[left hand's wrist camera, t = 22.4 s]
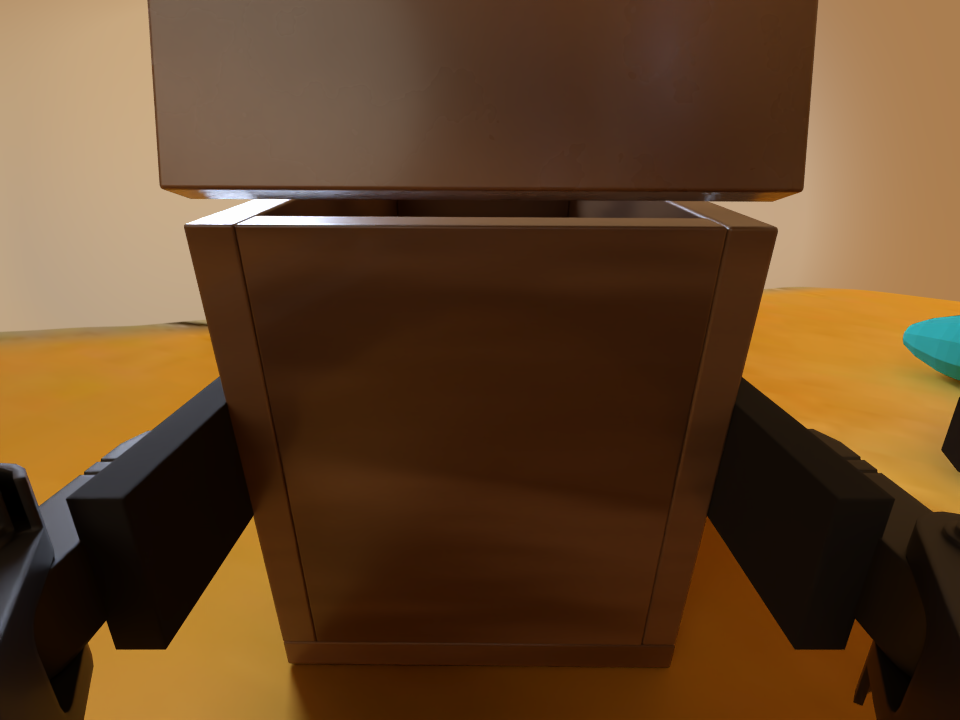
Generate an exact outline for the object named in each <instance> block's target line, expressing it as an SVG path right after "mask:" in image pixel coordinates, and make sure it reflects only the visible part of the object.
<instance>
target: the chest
mask: <svg viewBox="0 0 960 720" xmlns="http://www.w3.org/2000/svg"><path fill="white" fill-rule="evenodd" d="M184 229H185V233H186V237H187V241H188V245H189V250H190V254H191V258H192V262H193V266H194V270H195V275H196V279H197V283H198V287H199V291H200V295H201V300H202V304H203V308H204V312H205V316H206V320H207V325H208V329H209V333H210V337H211V341H212V345H213V350H214V354H215V358H216V362H217V366H218V370H219V375H220V379H221V383H222V387H223V391H224V395H225V400H226V402H227V405H228V410H229V414H230V418H231V422H232V426H233V430H234V434H235V438H236V443H237V447H238V451H239V455H240V459H241V463H242V467H243V471H244V476H245V480H246V484H247V488H248V492H249V496H250V500H251V504H252V509H253V513H254V515H253V516H254V520H255V525H256V529H257V533H258V537H259V541H260V545H261V550H262V554H263V558H264V562H265V566H266V570H267V575H268V579H269V583H270V587H271V591H272V595H273V600H274V604H275V608H276V612H277V616H278V620H279V624H280V629H281V633H282V637H283V640H284V645H285V650H286V654H287V658H288V662H289V663H310V664H403V665H496V666H589V667H670V664H671V660H672V656H673V652H674V648H675V645H674V644H675V642H676V638H677V634H678V630H679V626H680V622H681V618H682V614H683V610H684V606H685V602H686V598H687V594H688V590H689V586H690V582H691V578H692V574H693V570H694V566H695V562H696V558H697V554H698V550H699V546H700V542H701V538H702V534H703V530H704V526H705V522H706V518H707V514H708V510H709V506H710V502H711V498H712V494H713V490H714V486H715V482H716V478H717V474H718V470H719V466H720V462H721V458H722V454H723V450H724V446H725V442H726V438H727V434H728V430H729V426H730V422H731V418H732V413H733V409H734V405H735V401H736V397H737V393H738V389H739V385H740V381H741V377H742V373H743V369H744V365H745V361H746V357H747V353H748V349H749V345H750V341H751V337H752V333H753V329H754V325H755V321H756V317H757V313H758V309H759V305H760V301H761V297H762V293H763V289H764V285H765V281H766V277H767V273H768V269H769V265H770V261H771V257H772V253H773V249H774V245H775V241H776V237H777V233H778V229H777V227H774V226H772V225H769V224H766V223H764V222H761V221H758V220H756V219H753V218H750V217H748V216H745V215H742V214H740V213H737V212H734V211H732V210H729V209H726V208H724V207H721V206H718V205H716V204H713V203H710V202H708V201H549V200H344V199H255V200H252V201H249V202H247V203H244V204H241V205H238V206H235V207H233V208H230V209H227V210H224V211H221V212H218V213H215V214H213V215H210V216H207V217H204V218H201V219H198V220H195V221H193V222H190V223H187V224H185V225H184Z"/></svg>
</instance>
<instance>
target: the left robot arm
mask: <svg viewBox="0 0 960 720" xmlns="http://www.w3.org/2000/svg"><path fill="white" fill-rule="evenodd" d="M253 515H254V513H253V509H252V504H251V500H250V496H249V492H248V488H247V484H246V480H245V476H244V471H243V467H242V463H241V459H240V455H239V451H238V447H237V443H236V438H235V434H234V430H233V426H232V422H231V418H230V414H229V410H228V405H227V402H226V400H225V395H224V391H223V387H222V383H221V379H220V376H219V377H218V378H217V379H216V380H214V381H213V382H212V383H211V384H209V385H208V386H207V387H206V388H204V389H203V390H202V391H201V392H199V393H198V394H197V395H196V396H194V397H193V398H192V399H191V400H189V401H188V402H187V403H185V404H184V405H183V406H182V407H180V408H179V409H178V410H177V411H175V412H174V413H173V414H172V415H170V416H169V417H168V418H167V419H165V420H164V421H163V422H162V423H160V424H159V425H158V426H157V427H155V428H154V429H153V430H152V431H147V432H145V433H143V434H140V435H138V436H136V437H134V438H132V439H130V440H128V441H126V442H124V443H121V444H120V445H119V446H117V447H116V448H115V449H113V450H112V451H111V452H109V453H108V454H107V455H106V456H104V457H103V458H102V459H101V462H96V463H95V464H94V465H92V466H91V467H90V468H89V469H87V470H86V471H85V472H84V475H79V476H78V477H77V478H75V479H74V480H73V481H72V482H70V483H69V484H68V485H66V486H65V487H64V488H62V489H61V490H60V491H58V492H57V493H56V494H55V495H53V496H52V497H51V498H49V499H48V500H47V501H45V502H44V503H43V504H41V505H40V506H38V503H37V501H36V498H35V495H34V492H33V490H32V487H31V484H30V481H29V478H28V476H27V473H26V470H25V468H23V467H21V466H19V465H17V464H6V463H0V720H84V715H85V710H86V704H87V699H88V693H89V688H90V682H91V677H92V671H93V659H92V654H91V651H90V648H89V645H88V642H89V641H90V639H91V638H92V637H93V636H94V634H95V633H96V632H97V631H98V630H99V628H100V627H101V626H102V625H103V624H104V622H105V621H107V624H108V627H109V630H110V633H111V636H112V639H113V642H114V645H115V648H116V649H166V648H167V647H168V645H169V644H170V642H171V641H172V639H173V638H174V636H175V635H176V633H177V632H178V630H179V629H180V627H181V625H182V624H183V622H184V621H185V619H186V618H187V616H188V615H189V613H190V612H191V610H192V609H193V607H194V606H195V604H196V603H197V601H198V600H199V598H200V596H201V595H202V593H203V592H204V590H205V589H206V587H207V586H208V584H209V583H210V581H211V580H212V578H213V577H214V575H215V574H216V572H217V570H218V569H219V567H220V566H221V564H222V563H223V561H224V560H225V558H226V557H227V555H228V554H229V552H230V551H231V549H232V548H233V546H234V544H235V543H236V541H237V540H238V538H239V537H240V535H241V534H242V532H243V531H244V529H245V528H246V526H247V525H248V523H249V522H250V520H251V518H252V517H253ZM707 516H708V517H709V519H710V521H711V522H712V524H713V525H714V527H715V528H716V530H717V531H718V533H719V534H720V536H721V537H722V539H723V540H724V542H725V543H726V545H727V547H728V548H729V550H730V551H731V553H732V554H733V556H734V557H735V559H736V560H737V562H738V563H739V565H740V566H741V568H742V569H743V571H744V573H745V574H746V576H747V577H748V579H749V580H750V582H751V583H752V585H753V586H754V588H755V589H756V591H757V592H758V594H759V595H760V597H761V598H762V600H763V602H764V603H765V605H766V606H767V608H768V609H769V611H770V612H771V614H772V615H773V617H774V618H775V620H776V621H777V623H778V624H779V626H780V628H781V629H782V631H783V632H784V634H785V635H786V637H787V638H788V640H789V641H790V643H791V644H792V646H793V647H794V649H795V650H845V647H846V644H847V641H848V638H849V635H850V632H851V629H852V626H853V623H854V620H855V619H856V620H857V621H858V622H859V623H860V625H861V626H862V627H863V628H864V629H865V631H866V632H867V633H868V634H869V635H870V637H871V638H872V639H873V642H872V645H871V648H870V651H869V654H868V656H867V659H866V662H865V665H864V667H863V670H862V673H861V676H860V679H859V681H858V684H857V687H856V690H855V695H854V701H853V702H854V703H856V704H859V705H862V706H863V703H864V700H865V697H866V695H867V693H869V692H872V697H873V703H874V708H875V714H876V719H877V720H960V514H955V513H948V512H932V511H931V510H930V509H928V508H927V507H926V506H924V505H923V504H922V503H920V502H919V501H918V500H916V499H915V498H914V497H912V496H911V495H910V494H908V493H907V492H906V491H905V490H903V489H902V488H901V487H899V486H898V485H897V484H895V483H894V482H893V481H891V480H890V479H889V478H887V477H886V476H885V475H883V474H882V473H878V472H877V469H875V468H874V467H873V466H872V465H870V464H869V463H868V462H866V461H865V460H861V459H860V456H858V455H857V454H856V453H854V452H853V451H852V450H850V449H849V448H848V447H846V446H845V445H844V444H842V443H841V442H839V441H837V440H835V439H833V438H831V437H829V436H827V435H825V434H822V433H820V432H818V431H816V430H814V429H807V428H805V427H804V426H803V425H802V424H800V423H799V422H798V421H797V420H795V419H794V418H793V417H792V416H790V415H789V414H788V413H787V412H785V411H784V410H783V409H782V408H780V407H779V406H778V405H777V404H775V403H774V402H773V401H771V400H770V399H769V398H768V397H766V396H765V395H764V394H763V393H761V392H760V391H759V390H758V389H756V388H755V387H754V386H753V385H751V384H750V383H749V382H748V381H746V380H745V379H744V378H743V377H741V381H740V385H739V389H738V393H737V397H736V401H735V405H734V409H733V413H732V418H731V422H730V426H729V430H728V434H727V438H726V442H725V446H724V450H723V454H722V458H721V462H720V466H719V470H718V474H717V478H716V482H715V486H714V490H713V494H712V498H711V502H710V506H709V510H708V514H707Z"/></svg>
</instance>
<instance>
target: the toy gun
mask: <svg viewBox="0 0 960 720" xmlns="http://www.w3.org/2000/svg"><path fill="white" fill-rule="evenodd" d="M903 343H904V345H905V346H906V347H907V348H908V349H909V350H910V351H911V352H912V353H913V354H914V356H916V357H917V358H919V359H920V360H922V361H923V362H925V363H926V364H928V365H929V366H931V367H932V368H934V369H935V370H937V371H938V372H940V373H942V374H944V375H946V376H949V377H952V378H954V379H957V380H960V315H958V316H949V317H941V318H932V319H929V320H926V321H922V322H919V323H915V324H912V325H911V326H909V327H908V328H907V330H906V331H905V332H904V335H903ZM941 450H942V452H943V453H944V454H945V455H946V457H947V458H948V459H949V460H950V462H951V463H952V464H953V466H954V467H955V468H956V469H957V471H958V472H960V397H959V400H958V403H957V406H956V408H955V411H954V414H953V417H952V420H951V423H950V426H949V429H948V432H947V435H946V438H945V441H944V444H943V446H942V449H941Z"/></svg>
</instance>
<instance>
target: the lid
mask: <svg viewBox="0 0 960 720" xmlns="http://www.w3.org/2000/svg"><path fill="white" fill-rule="evenodd" d="M817 9H818V0H148V14H149V29H150V44H151V60H152V75H153V89H154V105H155V120H156V135H157V151H158V166H159V181H160V187H161V188H162V189H164V190H167V191H170V192H173V193H176V194H179V195H181V196H184V197H187V198H190V199H344V200H549V201H758V202H760V201H761V202H773V201H776V200H778V199H782V198H784V197H787V196H790V195H793V194H796V193H799V192H801V191H802V190H803V187H804V175H805V162H806V149H807V136H808V124H809V111H810V98H811V85H812V73H813V60H814V47H815V34H816V21H817Z"/></svg>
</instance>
